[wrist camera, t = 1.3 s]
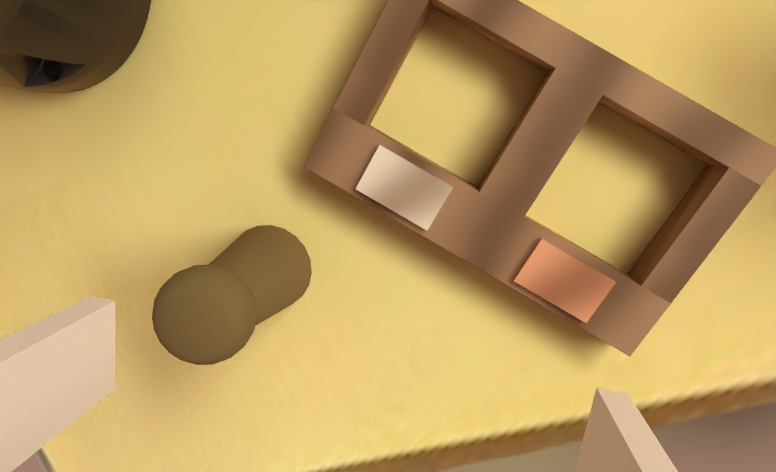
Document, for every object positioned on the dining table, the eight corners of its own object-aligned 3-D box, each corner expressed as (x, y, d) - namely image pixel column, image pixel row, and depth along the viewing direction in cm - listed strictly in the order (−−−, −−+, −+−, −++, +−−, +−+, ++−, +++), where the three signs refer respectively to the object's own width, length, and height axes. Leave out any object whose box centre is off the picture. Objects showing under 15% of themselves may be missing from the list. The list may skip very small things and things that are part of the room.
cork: (242, 315, 36) (153, 391, 26) (218, 234, 35) (115, 279, 25) (321, 300, 35) (262, 373, 25) (298, 217, 34) (227, 256, 24)
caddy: (314, 164, 33) (301, 167, 31) (420, -42, 30) (417, -60, 27) (617, 339, 33) (632, 359, 30) (759, 151, 30) (790, 154, 27)
